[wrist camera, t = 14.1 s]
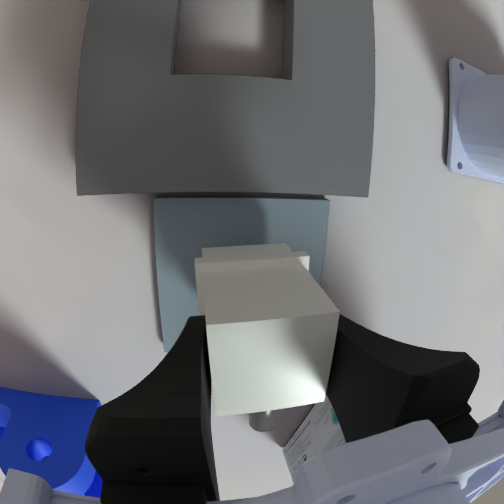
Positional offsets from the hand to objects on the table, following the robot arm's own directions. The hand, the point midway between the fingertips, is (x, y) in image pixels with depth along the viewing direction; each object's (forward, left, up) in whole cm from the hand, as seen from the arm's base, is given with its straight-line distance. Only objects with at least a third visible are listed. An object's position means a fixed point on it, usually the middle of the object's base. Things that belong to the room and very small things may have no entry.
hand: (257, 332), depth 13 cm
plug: (0, +1, -4) cm, 4 cm away
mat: (0, 0, -6) cm, 6 cm away
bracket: (+19, +14, -6) cm, 24 cm away
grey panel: (+1, -16, -6) cm, 17 cm away
